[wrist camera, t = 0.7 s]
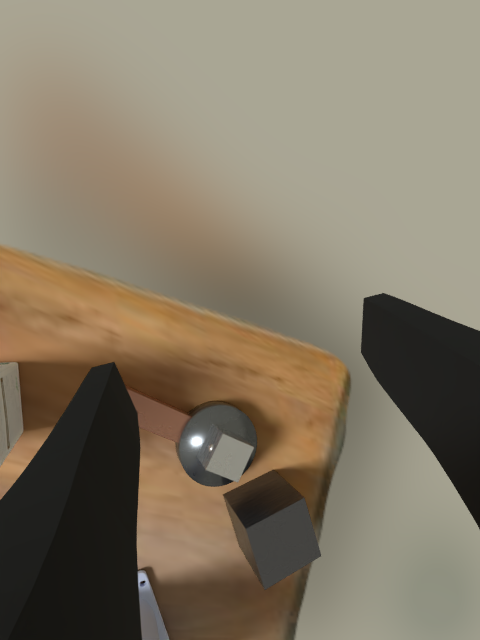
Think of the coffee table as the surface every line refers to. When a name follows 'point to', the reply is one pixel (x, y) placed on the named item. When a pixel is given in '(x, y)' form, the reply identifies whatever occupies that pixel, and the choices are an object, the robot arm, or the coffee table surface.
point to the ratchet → (202, 437)
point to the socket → (272, 527)
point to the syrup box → (9, 408)
